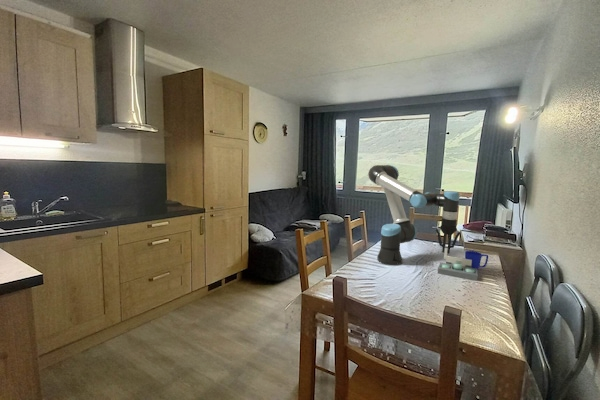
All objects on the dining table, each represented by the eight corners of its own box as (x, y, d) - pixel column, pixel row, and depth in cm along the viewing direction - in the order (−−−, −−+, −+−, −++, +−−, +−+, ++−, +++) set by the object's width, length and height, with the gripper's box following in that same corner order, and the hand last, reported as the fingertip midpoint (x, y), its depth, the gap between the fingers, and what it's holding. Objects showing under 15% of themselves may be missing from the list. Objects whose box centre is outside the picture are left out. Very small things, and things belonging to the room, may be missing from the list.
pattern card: (445, 267, 167) (446, 256, 166) (445, 267, 168) (446, 255, 167) (470, 272, 160) (471, 260, 159) (470, 271, 161) (471, 259, 160)
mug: (490, 272, 159) (491, 256, 158) (466, 271, 162) (468, 254, 160) (483, 267, 167) (485, 251, 166) (461, 266, 170) (463, 250, 168)
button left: (440, 270, 160) (441, 265, 160) (441, 268, 164) (442, 263, 163) (449, 272, 158) (449, 267, 157) (450, 270, 161) (450, 265, 161)
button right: (464, 275, 154) (465, 270, 153) (465, 272, 157) (465, 267, 157) (474, 277, 151) (474, 271, 151) (474, 274, 155) (474, 269, 155)
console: (437, 273, 158) (437, 268, 157) (439, 267, 168) (440, 262, 167) (477, 280, 148) (477, 275, 147) (476, 273, 158) (477, 268, 157)
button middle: (452, 269, 157) (453, 264, 156) (453, 267, 160) (453, 262, 160) (461, 271, 154) (462, 266, 154) (462, 268, 158) (462, 263, 158)
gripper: (435, 218, 157) (432, 257, 161) (462, 221, 150) (457, 262, 154) (437, 216, 164) (433, 254, 167) (462, 218, 157) (458, 258, 160)
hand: (445, 258), depth 160 cm, fingers closed
